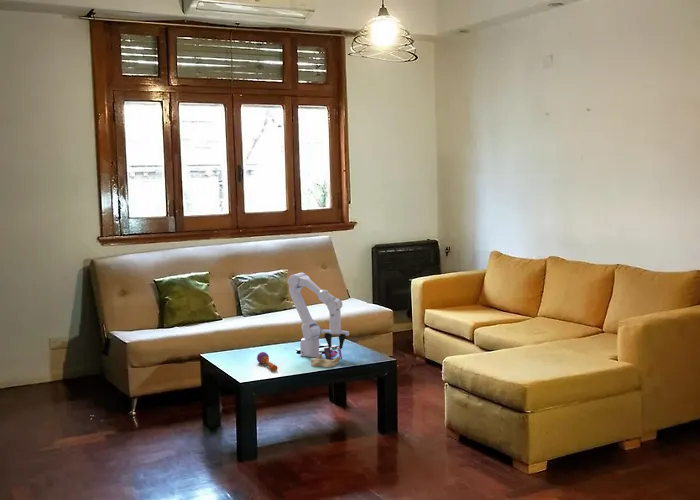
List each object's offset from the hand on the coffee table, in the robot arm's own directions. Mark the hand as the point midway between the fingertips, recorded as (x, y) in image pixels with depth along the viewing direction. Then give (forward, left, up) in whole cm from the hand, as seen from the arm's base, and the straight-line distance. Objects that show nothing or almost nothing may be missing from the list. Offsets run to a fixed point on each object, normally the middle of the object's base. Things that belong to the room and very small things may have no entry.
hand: (335, 348), depth 395 cm
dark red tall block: (-1, -2, -6) cm, 6 cm away
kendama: (-27, -25, -6) cm, 37 cm away
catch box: (-1, -12, -5) cm, 13 cm away
